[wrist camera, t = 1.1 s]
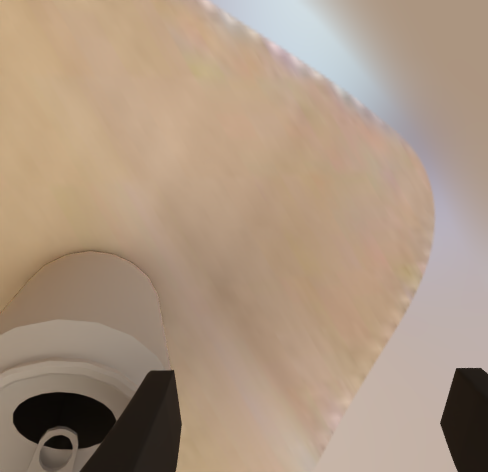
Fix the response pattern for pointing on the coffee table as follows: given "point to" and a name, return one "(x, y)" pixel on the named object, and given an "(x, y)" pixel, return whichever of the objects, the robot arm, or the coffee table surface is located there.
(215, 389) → the coffee table surface
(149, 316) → the can
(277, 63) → the coffee table surface
